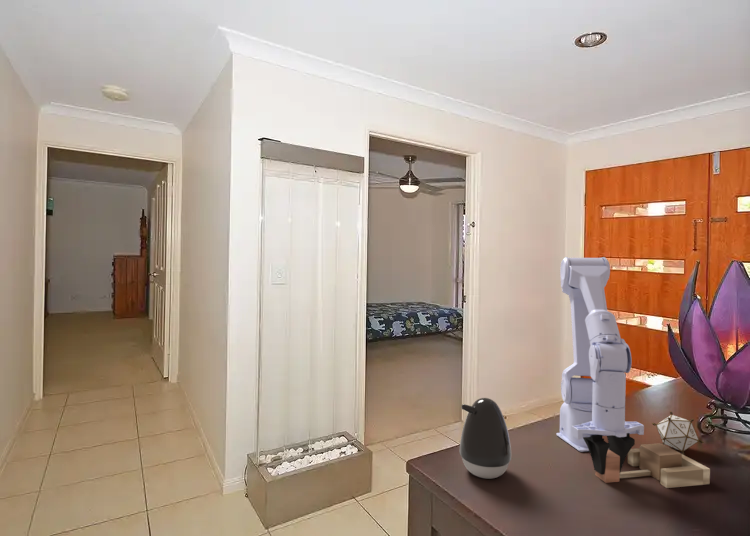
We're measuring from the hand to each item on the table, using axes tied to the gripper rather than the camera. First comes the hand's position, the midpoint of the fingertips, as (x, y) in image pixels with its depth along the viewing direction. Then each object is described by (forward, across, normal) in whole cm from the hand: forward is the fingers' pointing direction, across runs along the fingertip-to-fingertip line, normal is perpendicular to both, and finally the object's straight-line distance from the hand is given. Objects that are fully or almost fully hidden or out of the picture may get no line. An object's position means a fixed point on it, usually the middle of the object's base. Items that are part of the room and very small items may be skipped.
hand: (607, 471), depth 85 cm
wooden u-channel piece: (+1, +13, 0) cm, 13 cm away
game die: (+2, +25, +9) cm, 26 cm away
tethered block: (+1, +7, 0) cm, 7 cm away
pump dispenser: (+2, -23, +6) cm, 24 cm away
